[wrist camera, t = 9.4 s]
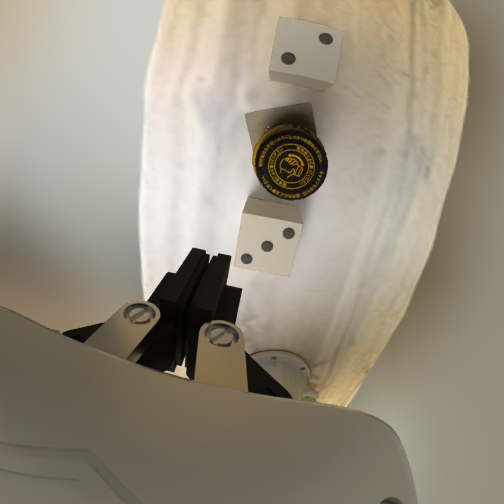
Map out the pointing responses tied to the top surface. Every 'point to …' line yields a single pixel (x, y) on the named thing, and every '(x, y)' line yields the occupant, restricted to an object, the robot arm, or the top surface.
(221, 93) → the top surface
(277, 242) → the three dot block
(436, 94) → the top surface
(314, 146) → the condiment
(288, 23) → the two dot block
